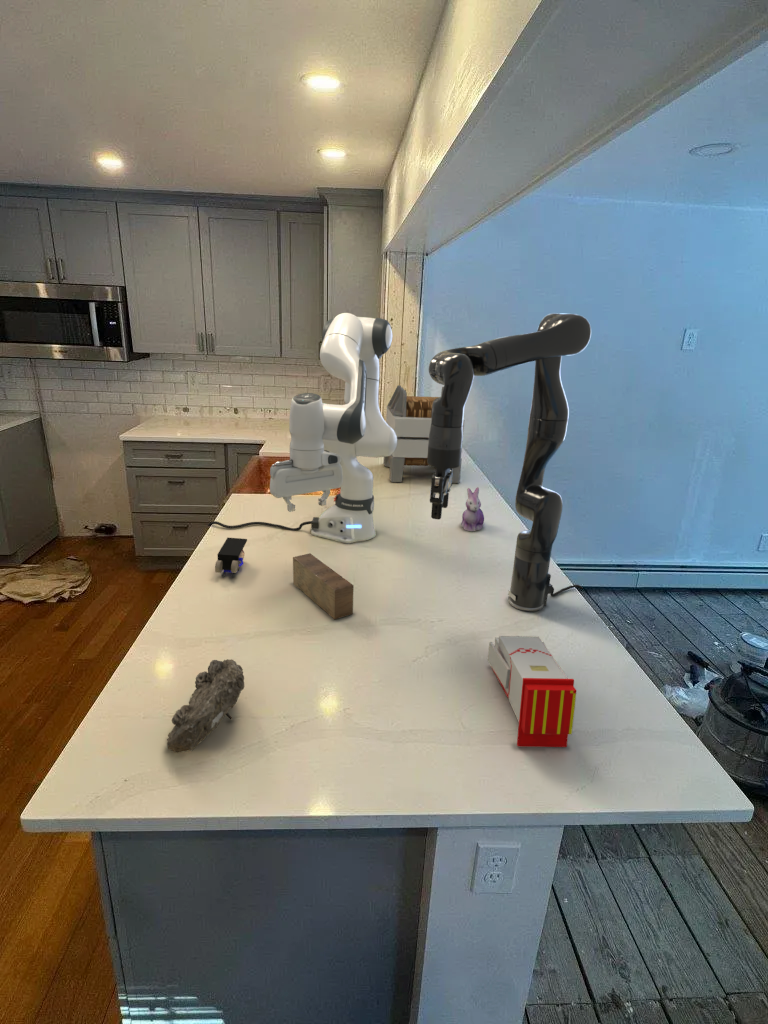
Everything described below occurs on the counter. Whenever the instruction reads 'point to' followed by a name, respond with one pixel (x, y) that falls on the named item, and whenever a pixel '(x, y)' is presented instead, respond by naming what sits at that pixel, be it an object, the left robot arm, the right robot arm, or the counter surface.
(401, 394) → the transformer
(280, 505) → the counter surface
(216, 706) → the fossil
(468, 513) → the figurine
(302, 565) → the bar
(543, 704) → the toy
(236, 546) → the figurine character
